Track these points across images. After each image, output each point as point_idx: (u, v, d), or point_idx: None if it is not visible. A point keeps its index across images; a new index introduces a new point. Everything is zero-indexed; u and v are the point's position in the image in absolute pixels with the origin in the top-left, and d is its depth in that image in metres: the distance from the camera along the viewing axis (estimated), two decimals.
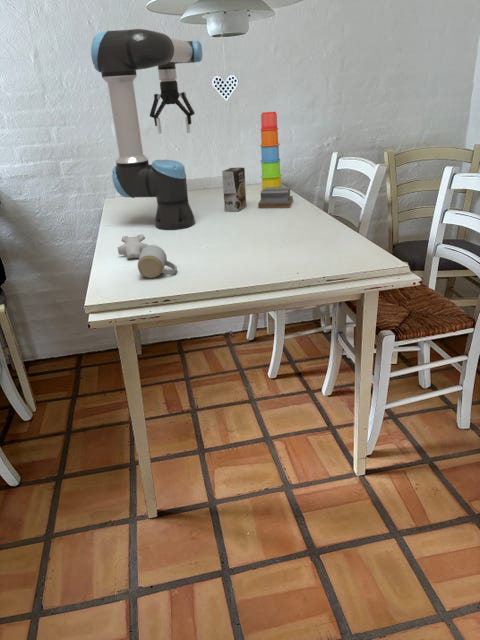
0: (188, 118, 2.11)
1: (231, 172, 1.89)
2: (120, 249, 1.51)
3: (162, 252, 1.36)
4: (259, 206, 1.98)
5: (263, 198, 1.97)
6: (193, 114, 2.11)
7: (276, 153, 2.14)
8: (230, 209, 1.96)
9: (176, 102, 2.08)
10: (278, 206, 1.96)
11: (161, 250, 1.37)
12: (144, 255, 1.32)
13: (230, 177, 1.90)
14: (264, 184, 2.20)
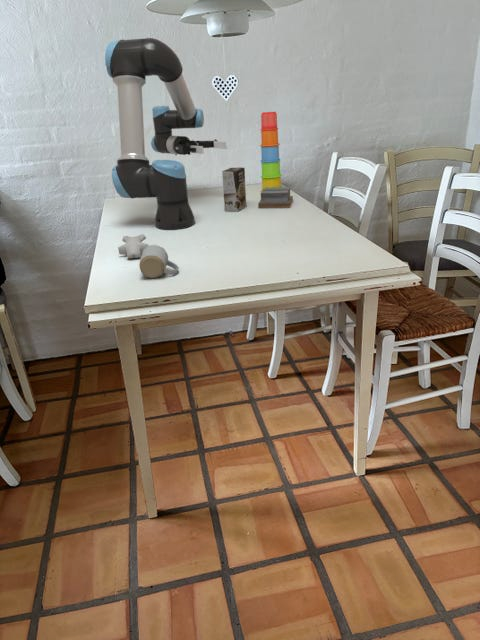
0: None
1: (231, 172, 1.89)
2: (120, 249, 1.51)
3: (163, 252, 1.36)
4: (259, 206, 1.98)
5: (263, 198, 1.97)
6: None
7: (276, 153, 2.14)
8: (230, 209, 1.96)
9: (198, 141, 2.04)
10: (278, 206, 1.96)
11: (163, 250, 1.37)
12: (146, 255, 1.32)
13: (230, 177, 1.90)
14: (264, 184, 2.20)
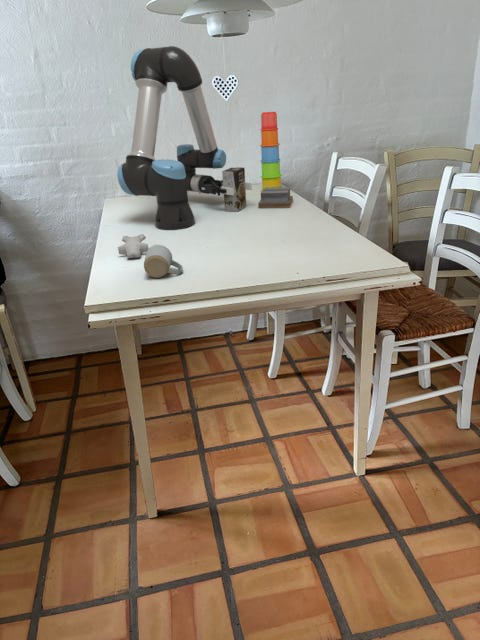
0: None
1: (231, 172, 1.89)
2: (120, 249, 1.51)
3: (168, 251, 1.36)
4: (259, 206, 1.98)
5: (263, 198, 1.97)
6: None
7: (276, 153, 2.14)
8: (230, 209, 1.96)
9: (222, 180, 2.02)
10: (278, 206, 1.96)
11: (167, 250, 1.37)
12: (150, 255, 1.32)
13: (230, 177, 1.90)
14: (264, 184, 2.20)
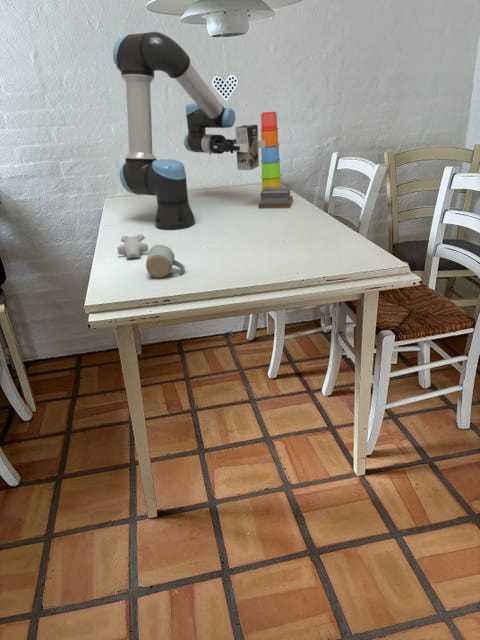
0: None
1: (245, 128, 1.84)
2: (119, 249, 1.51)
3: (170, 251, 1.36)
4: (259, 206, 1.98)
5: (263, 198, 1.97)
6: None
7: (276, 153, 2.14)
8: (243, 167, 1.91)
9: (234, 139, 1.97)
10: (278, 206, 1.96)
11: (169, 250, 1.37)
12: (152, 255, 1.32)
13: (244, 133, 1.85)
14: (264, 184, 2.20)
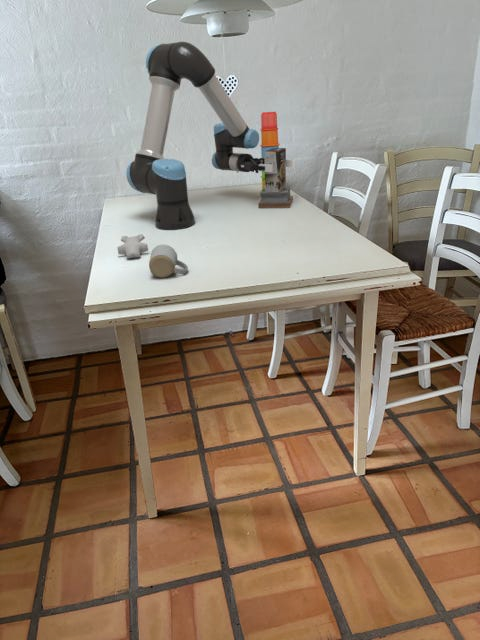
0: None
1: (273, 152, 1.89)
2: (119, 249, 1.51)
3: (173, 251, 1.36)
4: (259, 206, 1.98)
5: (263, 198, 1.97)
6: None
7: None
8: (271, 190, 1.96)
9: (262, 158, 2.02)
10: (278, 206, 1.96)
11: (172, 250, 1.37)
12: (155, 254, 1.32)
13: (273, 157, 1.90)
14: (264, 184, 2.20)
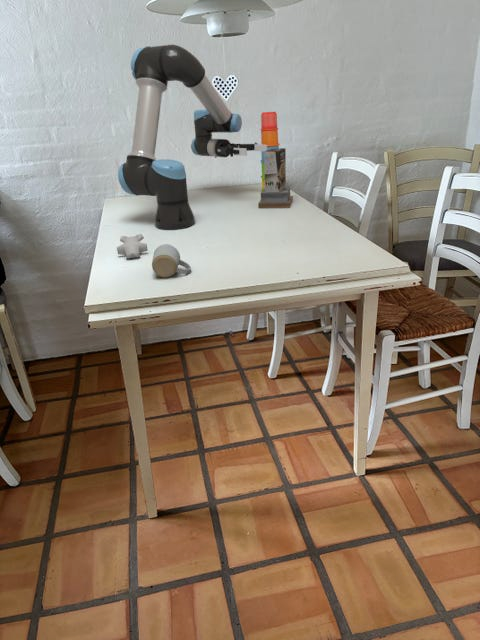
0: None
1: (273, 152, 1.89)
2: (119, 249, 1.51)
3: (176, 251, 1.36)
4: (259, 206, 1.98)
5: (263, 198, 1.97)
6: None
7: None
8: (271, 190, 1.96)
9: None
10: (278, 206, 1.96)
11: (175, 250, 1.37)
12: (158, 254, 1.32)
13: (272, 157, 1.90)
14: (264, 184, 2.20)
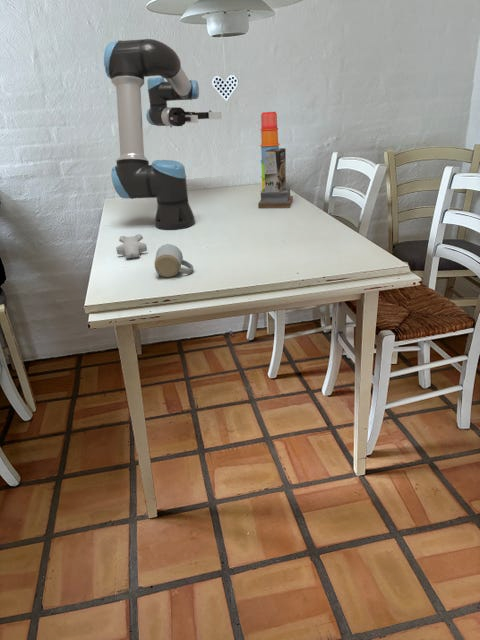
0: None
1: (273, 152, 1.89)
2: (118, 249, 1.51)
3: (178, 251, 1.36)
4: (259, 206, 1.98)
5: (263, 198, 1.97)
6: None
7: None
8: (271, 190, 1.96)
9: (193, 112, 2.04)
10: (278, 206, 1.96)
11: (178, 250, 1.37)
12: (161, 254, 1.32)
13: (272, 157, 1.90)
14: (264, 184, 2.20)
